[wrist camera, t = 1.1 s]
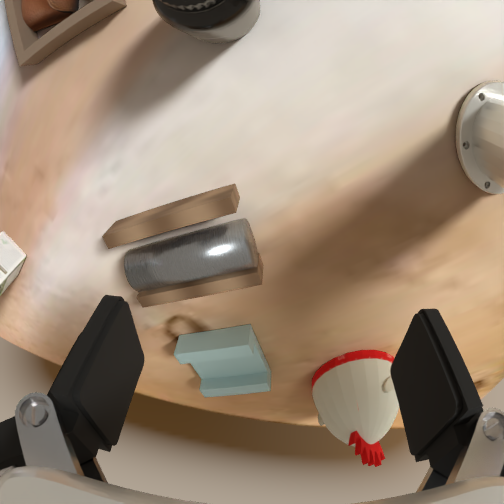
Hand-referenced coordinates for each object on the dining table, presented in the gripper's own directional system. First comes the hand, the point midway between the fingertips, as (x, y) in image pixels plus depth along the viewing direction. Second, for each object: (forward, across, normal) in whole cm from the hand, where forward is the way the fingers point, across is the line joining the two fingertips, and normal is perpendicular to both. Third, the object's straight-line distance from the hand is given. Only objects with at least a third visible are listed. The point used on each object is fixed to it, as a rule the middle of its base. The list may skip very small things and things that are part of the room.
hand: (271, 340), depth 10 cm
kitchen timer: (+22, -15, +32) cm, 42 cm away
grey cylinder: (+22, +8, +9) cm, 25 cm away
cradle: (+22, +5, +27) cm, 35 cm away
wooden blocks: (+22, +8, +9) cm, 25 cm away
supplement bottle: (+22, +5, -14) cm, 27 cm away
